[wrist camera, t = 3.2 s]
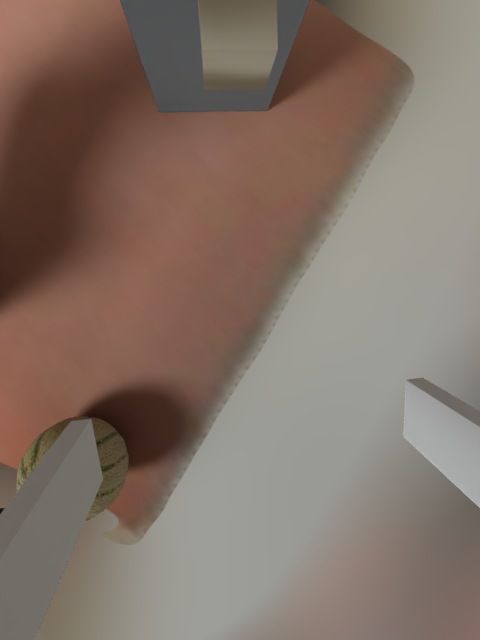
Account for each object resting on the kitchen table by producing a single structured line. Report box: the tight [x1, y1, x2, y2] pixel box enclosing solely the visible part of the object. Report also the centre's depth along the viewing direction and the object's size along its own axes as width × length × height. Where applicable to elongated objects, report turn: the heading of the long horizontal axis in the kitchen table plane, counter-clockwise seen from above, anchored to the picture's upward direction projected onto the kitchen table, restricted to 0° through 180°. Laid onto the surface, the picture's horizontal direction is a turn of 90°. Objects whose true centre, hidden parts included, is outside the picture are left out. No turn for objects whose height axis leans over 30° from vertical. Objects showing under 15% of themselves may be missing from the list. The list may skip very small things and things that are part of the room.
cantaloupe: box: [17, 416, 129, 521], centre depth 48 cm, size 15×15×15 cm
